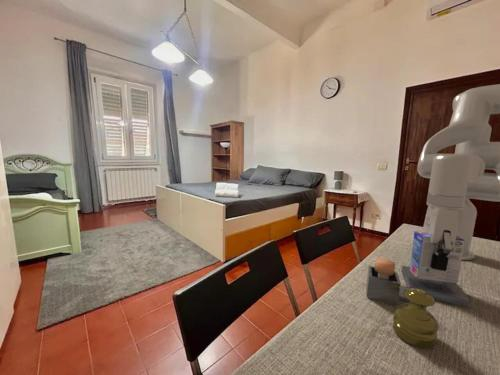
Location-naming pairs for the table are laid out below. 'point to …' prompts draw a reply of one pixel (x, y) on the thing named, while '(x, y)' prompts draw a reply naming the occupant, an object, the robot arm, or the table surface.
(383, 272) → the brown oval egg shape
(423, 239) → the ink cartridge box
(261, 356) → the table surface
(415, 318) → the olive green swirled figurine
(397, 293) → the frame
